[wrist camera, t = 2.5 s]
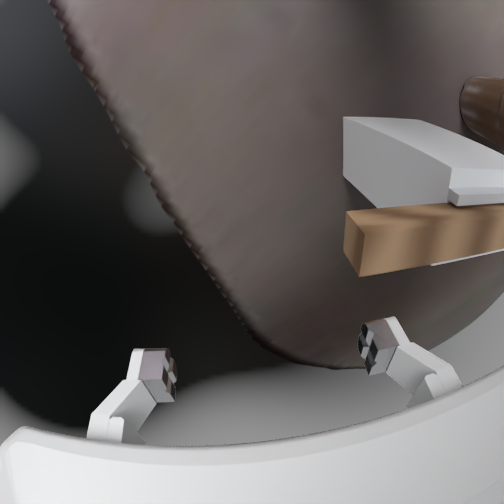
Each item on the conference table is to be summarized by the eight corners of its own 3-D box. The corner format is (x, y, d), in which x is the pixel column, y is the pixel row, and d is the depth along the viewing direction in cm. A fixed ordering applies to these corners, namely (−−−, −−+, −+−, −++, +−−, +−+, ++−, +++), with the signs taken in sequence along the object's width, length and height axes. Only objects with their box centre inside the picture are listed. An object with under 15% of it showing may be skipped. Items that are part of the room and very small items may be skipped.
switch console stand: (342, 178, 48) (445, 289, 23) (343, 116, 42) (474, 181, 18) (417, 174, 48) (529, 263, 24) (421, 120, 42) (554, 183, 18)
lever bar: (343, 250, 23) (359, 277, 21) (346, 211, 22) (364, 234, 19) (518, 225, 24) (536, 240, 21) (525, 198, 22) (545, 212, 19)
